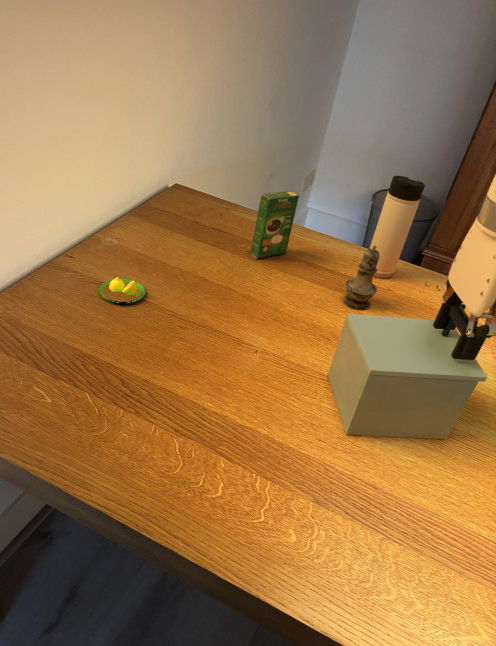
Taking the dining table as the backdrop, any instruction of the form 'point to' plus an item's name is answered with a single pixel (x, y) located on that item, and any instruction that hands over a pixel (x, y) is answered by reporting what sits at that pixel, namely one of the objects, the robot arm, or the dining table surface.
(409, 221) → the travel mug
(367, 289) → the chess piece figurine
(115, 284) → the plate with lemons
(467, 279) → the robot arm
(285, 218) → the coffee box
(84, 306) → the dining table surface
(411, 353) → the lid
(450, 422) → the grey hinged box
